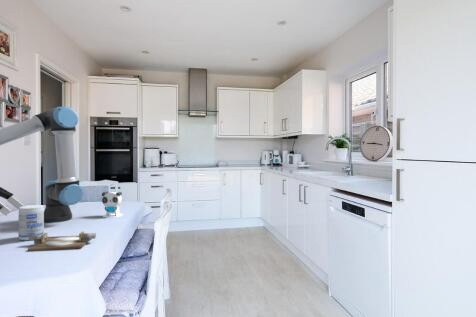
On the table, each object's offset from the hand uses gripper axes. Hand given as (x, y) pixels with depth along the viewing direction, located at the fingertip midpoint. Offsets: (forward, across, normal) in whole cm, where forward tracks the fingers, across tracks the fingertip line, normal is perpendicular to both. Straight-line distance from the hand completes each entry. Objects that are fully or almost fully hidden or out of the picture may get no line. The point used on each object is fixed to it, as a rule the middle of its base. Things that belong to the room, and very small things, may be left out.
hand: (15, 210), depth 129 cm
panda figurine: (+36, -38, +17) cm, 55 cm away
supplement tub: (+14, -1, -5) cm, 15 cm away
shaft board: (+25, +13, +6) cm, 29 cm away
